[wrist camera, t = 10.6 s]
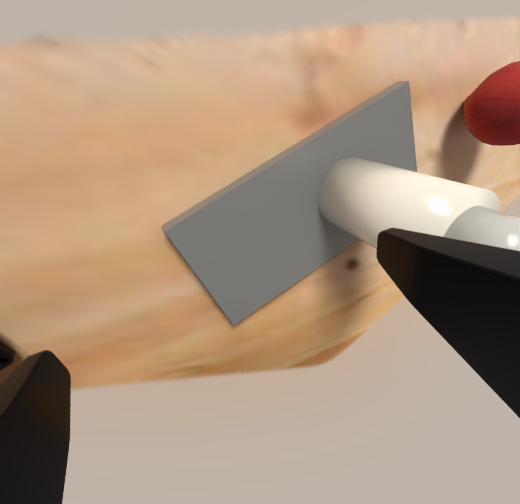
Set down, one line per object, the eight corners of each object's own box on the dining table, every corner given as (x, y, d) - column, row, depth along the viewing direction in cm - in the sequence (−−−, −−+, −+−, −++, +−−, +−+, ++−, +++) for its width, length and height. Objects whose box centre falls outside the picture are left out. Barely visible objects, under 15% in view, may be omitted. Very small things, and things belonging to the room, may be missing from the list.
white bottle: (336, 235, 25) (494, 332, 15) (305, 192, 22) (478, 278, 11) (380, 190, 25) (571, 256, 14) (356, 141, 21) (575, 181, 11)
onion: (486, 123, 28) (600, 131, 22) (441, 151, 27) (545, 168, 21) (492, 53, 25) (629, 38, 18) (441, 83, 24) (566, 77, 17)
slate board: (229, 318, 25) (233, 325, 24) (161, 225, 19) (164, 231, 18) (410, 194, 28) (419, 197, 27) (397, 81, 22) (408, 81, 21)
